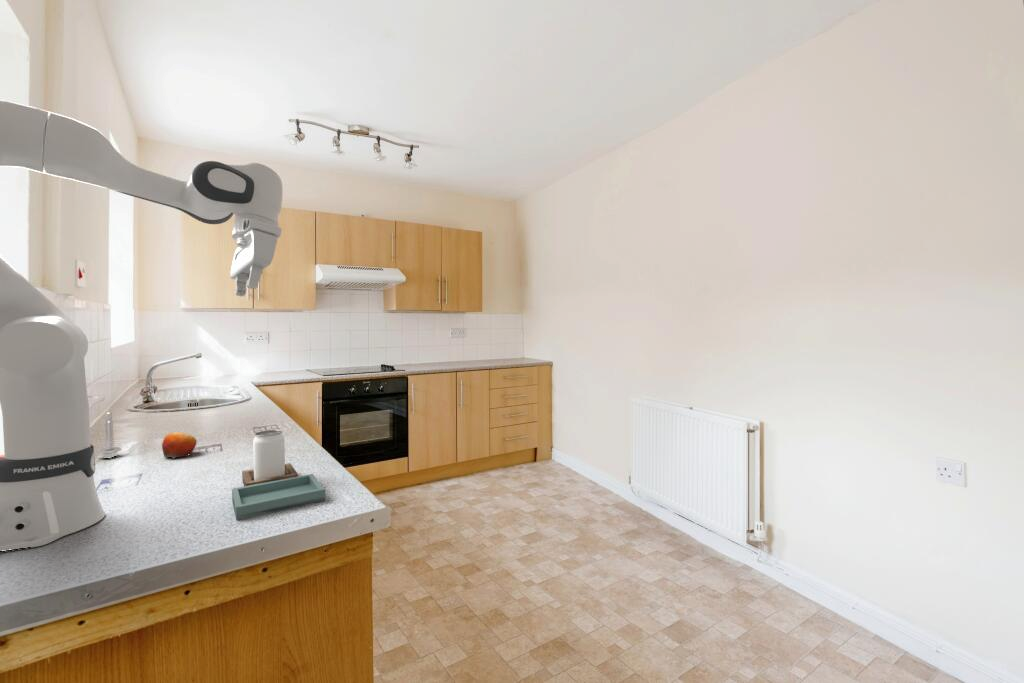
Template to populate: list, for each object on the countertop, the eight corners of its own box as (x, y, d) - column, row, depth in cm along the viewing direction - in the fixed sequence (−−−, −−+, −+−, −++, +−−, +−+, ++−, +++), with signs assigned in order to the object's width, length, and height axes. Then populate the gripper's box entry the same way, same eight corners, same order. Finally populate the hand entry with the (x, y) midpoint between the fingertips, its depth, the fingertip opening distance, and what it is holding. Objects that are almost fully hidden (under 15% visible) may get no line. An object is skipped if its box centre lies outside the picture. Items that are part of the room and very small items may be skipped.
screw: (120, 458, 127) (97, 461, 124) (122, 454, 130) (100, 457, 128) (118, 412, 126) (95, 414, 123) (120, 409, 130) (98, 411, 127)
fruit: (147, 456, 123) (161, 428, 127) (171, 463, 130) (184, 436, 134) (170, 458, 121) (184, 429, 125) (194, 465, 128) (206, 437, 132)
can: (272, 489, 102) (270, 436, 102) (247, 487, 103) (246, 435, 103) (291, 479, 108) (290, 430, 108) (268, 477, 110) (266, 429, 109)
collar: (246, 494, 99) (246, 483, 99) (242, 481, 107) (242, 471, 107) (298, 484, 105) (298, 474, 105) (290, 472, 113) (290, 463, 113)
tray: (236, 520, 86) (236, 507, 86) (232, 500, 96) (231, 488, 95) (325, 500, 95) (324, 489, 95) (312, 484, 105) (312, 473, 105)
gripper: (228, 241, 109) (218, 296, 106) (252, 216, 94) (242, 279, 92) (256, 249, 113) (248, 302, 111) (284, 226, 99) (275, 287, 96)
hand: (245, 292), depth 101 cm, fingers open, 8 cm apart
